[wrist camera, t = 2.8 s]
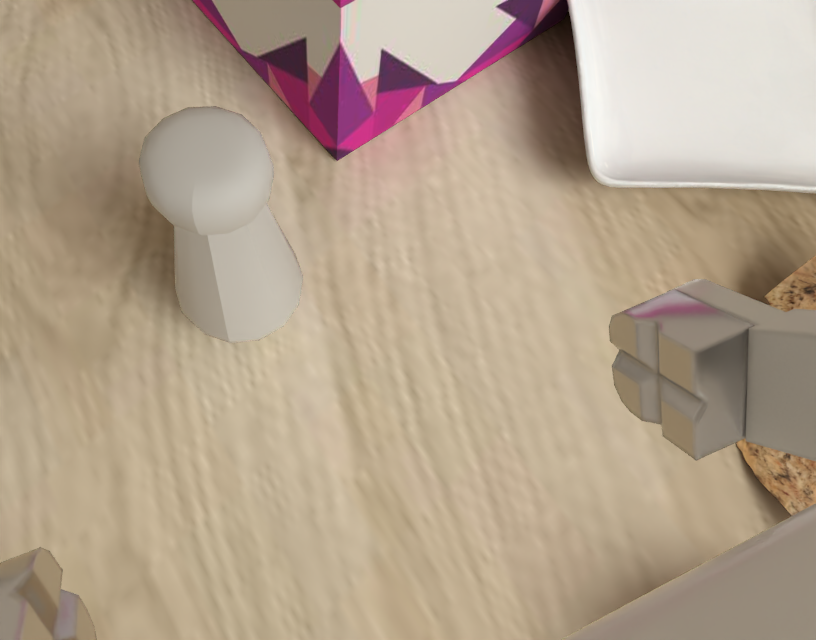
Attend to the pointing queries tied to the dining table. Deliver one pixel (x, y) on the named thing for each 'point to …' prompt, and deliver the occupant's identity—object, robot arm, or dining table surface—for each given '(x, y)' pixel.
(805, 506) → the tan hollow lump
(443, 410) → the dining table surface
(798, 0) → the plate
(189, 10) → the dining table surface
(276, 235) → the salt shaker
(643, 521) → the dining table surface
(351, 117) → the decorative box
